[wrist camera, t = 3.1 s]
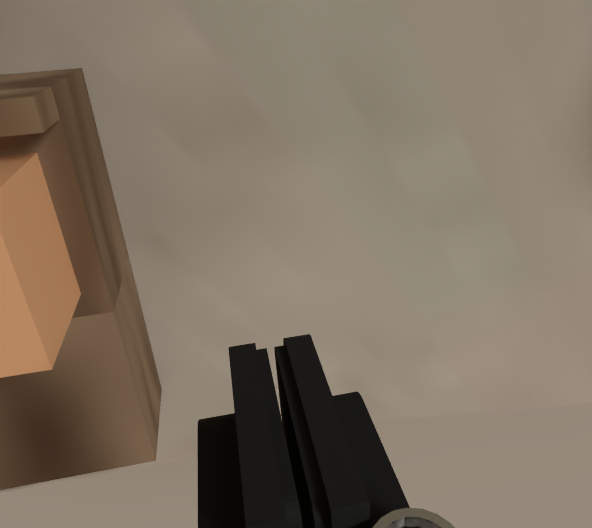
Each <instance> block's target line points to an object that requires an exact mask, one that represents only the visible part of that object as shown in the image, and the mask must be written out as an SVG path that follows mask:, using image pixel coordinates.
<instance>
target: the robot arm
mask: <svg viewBox="0 0 592 528" xmlns="http://www.w3.org/2000/svg"><path fill="white" fill-rule="evenodd" d="M283 343H284V346H278V347H275V359H276V369H277V378H278V388H279V397H280V407H281V415H280V410H279V406H278V401H277V396H276V391H275V387H274V382H273V377H272V372H271V368H270V363H269V358H268V353H267V349H266V348H265V349H259V350H256V346H255V343H252V344H245V345H239V346H233V347H229V357H230V367H231V378H232V388H233V399H234V409H235V413H234V414H228V415H223V416H217V417H211V418H206V419H200V420H199V421H198V528H455V527H454V526H453V525H452V524H451V523H450V522H448V521H447V520H445V519H444V518H442V517H441V516H439V515H438V514H435V513H432V512H430V511H427V510H424V509H417V508H410V507H409V505H408V503H407V500H406V498H405V496H404V493H403V491H402V489H401V486H400V484H399V482H398V479H397V477H396V475H395V473H394V470H393V468H392V466H391V463H390V461H389V459H388V456H387V454H386V452H385V450H384V447H383V445H382V443H381V440H380V438H379V436H378V433H377V431H376V429H375V426H374V424H373V422H372V420H371V417H370V415H369V413H368V410H367V408H366V406H365V403H364V401H363V399H362V397H361V395H360V394H359V393H358V392H352V393H347V394H341V395H336V396H332V394H331V391H330V388H329V386H328V383H327V380H326V377H325V374H324V372H323V369H322V366H321V363H320V360H319V358H318V355H317V352H316V349H315V346H314V344H313V341H312V338H311V336H310V335H309V334H308V335H302V336H295V337H289V338H284V341H283ZM281 416H282V420H281Z"/></svg>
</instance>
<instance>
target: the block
mask: <svg viewBox="0 0 592 528" xmlns="http://www.w3.org/2000/svg"><path fill="white" fill-rule="evenodd" d="M80 295H81V292H80V289H79V286H78V283H77V280H76V276H75V273H74V270H73V267H72V264H71V260H70V257H69V254H68V251H67V248H66V244H65V241H64V238H63V235H62V232H61V228H60V225H59V222H58V219H57V215H56V212H55V209H54V206H53V203H52V199H51V196H50V193H49V190H48V187H47V183H46V180H45V177H44V174H43V171H42V167H41V164H40V161H39V158H38V155H37V153H27V154H18V155H8V156H0V378H2V377H8V376H15V375H21V374H27V373H34V372H40V371H46V370H52V368H53V366H54V363H55V360H56V358H57V355H58V353H59V350H60V347H61V345H62V342H63V340H64V337H65V334H66V332H67V329H68V327H69V324H70V321H71V319H72V316H73V314H74V311H75V308H76V306H77V303H78V301H79V298H80Z"/></svg>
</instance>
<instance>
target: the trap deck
mask: <svg viewBox="0 0 592 528" xmlns="http://www.w3.org/2000/svg"><path fill="white" fill-rule="evenodd" d="M27 153H37V155H38V158H39V161H40V164H41V167H42V171H43V174H44V177H45V180H46V183H47V187H48V190H49V193H50V196H51V199H52V203H53V206H54V209H55V212H56V215H57V219H58V222H59V225H60V228H61V232H62V235H63V238H64V241H65V244H66V248H67V251H68V254H69V257H70V260H71V264H72V267H73V270H74V273H75V276H76V280H77V283H78V286H79V289H80V292H81V295H80V298H79V301H78V303H77V306H76V308H75V311H74V314H73V316H72V319H71V321H70V324H69V327H68V329H67V332H66V334H65V337H64V340H63V342H62V345H61V347H60V350H59V353H58V355H57V358H56V360H55V363H54V366H53V368H52V370H46V371H40V372H34V373H27V374H21V375H15V376H8V377H2V378H0V490H1V489H6V488H12V487H17V486H22V485H28V484H33V483H38V482H44V481H49V480H54V479H60V478H65V477H71V476H76V475H81V474H87V473H92V472H97V471H103V470H108V469H113V468H119V467H124V466H129V465H135V464H140V463H145V462H151V461H156V451H157V439H158V427H159V414H160V402H161V390H162V389H161V385H160V381H159V377H158V373H157V369H156V365H155V361H154V357H153V353H152V349H151V345H150V341H149V337H148V333H147V329H146V325H145V321H144V317H143V313H142V309H141V305H140V301H139V297H138V293H137V289H136V285H135V281H134V277H133V273H132V269H131V265H130V261H129V256H128V252H127V248H126V244H125V240H124V236H123V232H122V228H121V224H120V220H119V216H118V212H117V208H116V204H115V200H114V196H113V192H112V188H111V184H110V180H109V176H108V172H107V168H106V164H105V160H104V156H103V152H102V148H101V144H100V140H99V136H98V132H97V128H96V124H95V120H94V116H93V111H92V107H91V103H90V99H89V95H88V91H87V87H86V83H85V79H84V75H83V71H82V68H79V69H67V70H55V71H43V72H31V73H19V74H7V75H0V156H8V155H18V154H27Z"/></svg>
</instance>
